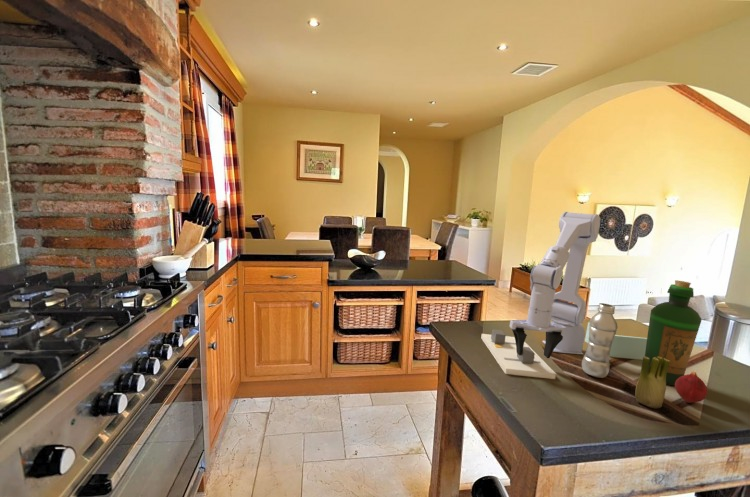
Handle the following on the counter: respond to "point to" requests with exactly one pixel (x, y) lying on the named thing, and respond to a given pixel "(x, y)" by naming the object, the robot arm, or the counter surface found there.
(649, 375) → the fennel bulb
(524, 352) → the switch
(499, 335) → the switch
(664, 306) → the bottle
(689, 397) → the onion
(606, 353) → the plastic bottle
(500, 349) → the switch console
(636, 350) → the l-shaped corner panel
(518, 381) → the counter surface
